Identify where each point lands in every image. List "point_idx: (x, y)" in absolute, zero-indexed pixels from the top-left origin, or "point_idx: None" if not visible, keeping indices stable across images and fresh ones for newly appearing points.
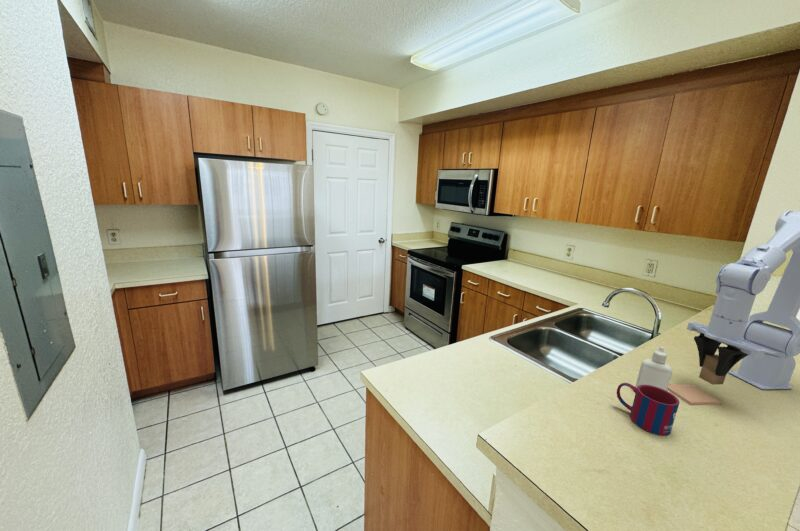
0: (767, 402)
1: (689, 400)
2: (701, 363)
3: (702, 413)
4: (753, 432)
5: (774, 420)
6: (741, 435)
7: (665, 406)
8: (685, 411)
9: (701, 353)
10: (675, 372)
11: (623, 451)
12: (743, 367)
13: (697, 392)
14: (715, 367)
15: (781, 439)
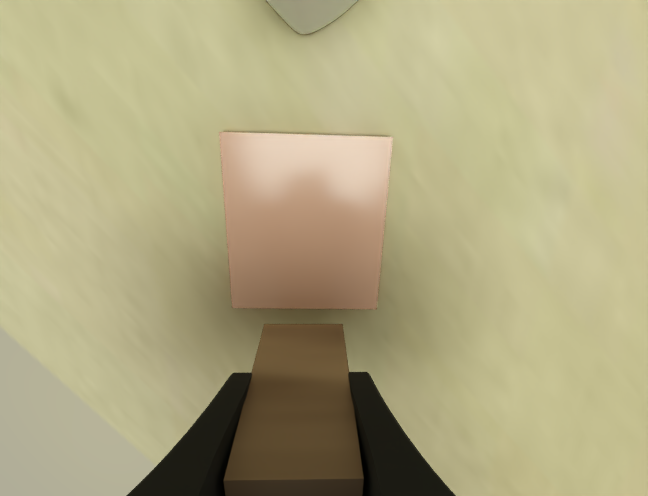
0: None
1: (237, 143)
2: (357, 387)
3: (155, 128)
4: (42, 240)
5: (143, 403)
6: (4, 157)
7: None
8: (163, 35)
9: (388, 458)
10: (485, 340)
11: None
12: None
13: (306, 266)
14: (254, 411)
15: (20, 310)
